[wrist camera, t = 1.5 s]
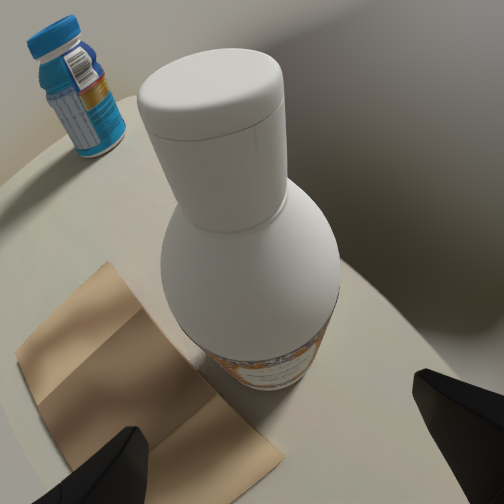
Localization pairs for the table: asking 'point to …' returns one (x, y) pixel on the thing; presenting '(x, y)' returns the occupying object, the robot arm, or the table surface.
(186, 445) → the wooden board
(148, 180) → the table surface
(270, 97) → the bath foam
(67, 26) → the beverage bottle
